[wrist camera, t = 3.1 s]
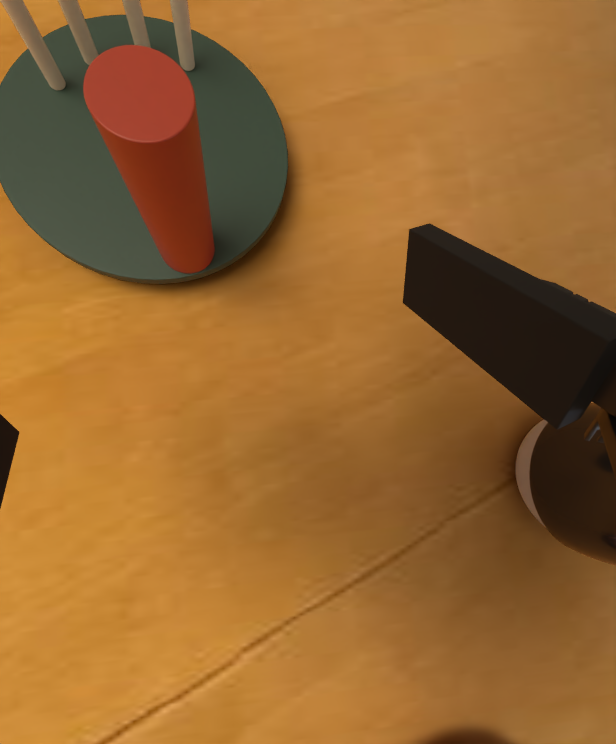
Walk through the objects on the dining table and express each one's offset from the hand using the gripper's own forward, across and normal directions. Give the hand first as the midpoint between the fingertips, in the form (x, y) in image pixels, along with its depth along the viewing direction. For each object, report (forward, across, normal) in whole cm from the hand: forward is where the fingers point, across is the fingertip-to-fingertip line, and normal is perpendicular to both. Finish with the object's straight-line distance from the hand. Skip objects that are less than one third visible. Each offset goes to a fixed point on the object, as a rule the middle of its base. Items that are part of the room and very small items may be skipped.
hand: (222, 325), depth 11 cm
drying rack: (+20, 0, +1) cm, 20 cm away
